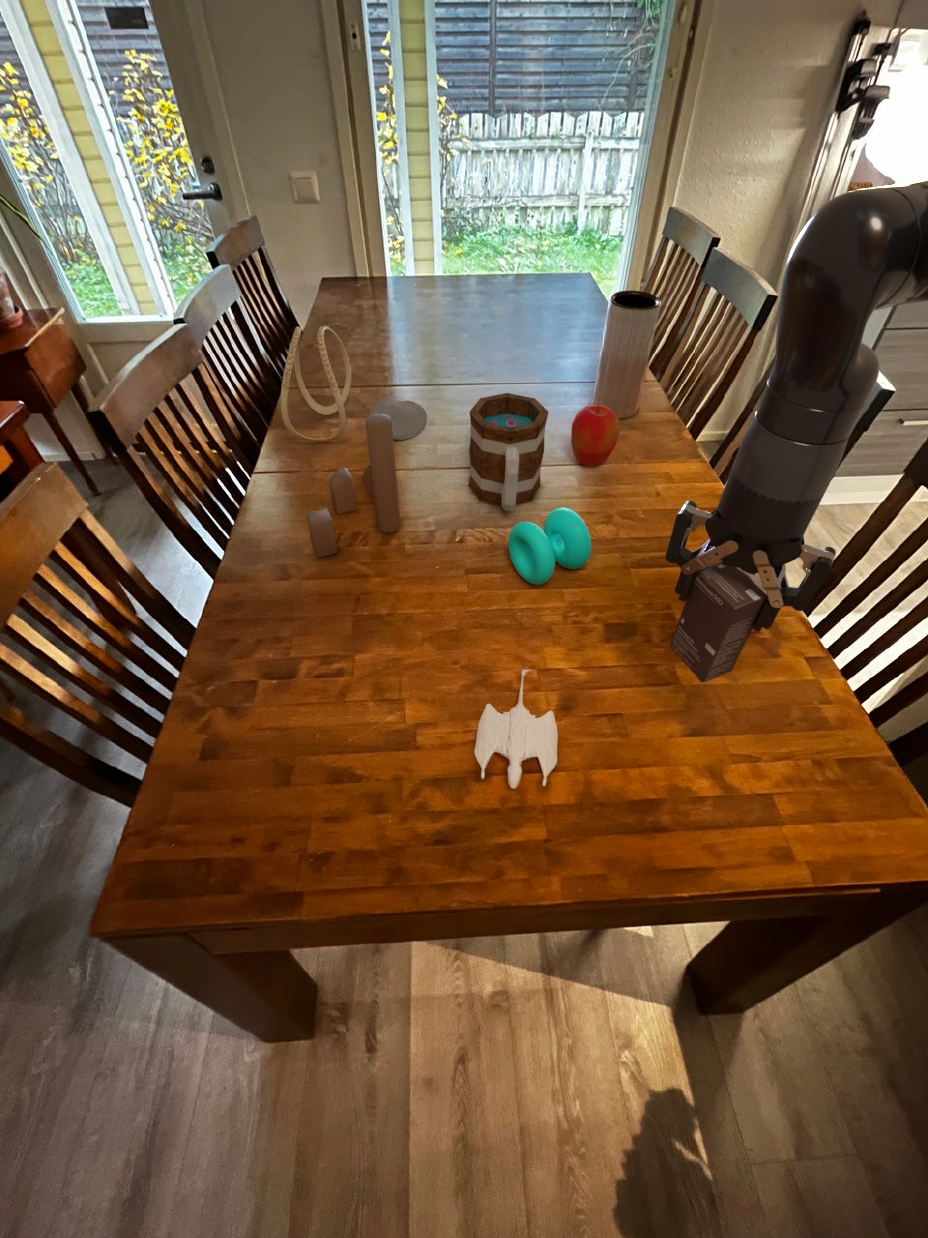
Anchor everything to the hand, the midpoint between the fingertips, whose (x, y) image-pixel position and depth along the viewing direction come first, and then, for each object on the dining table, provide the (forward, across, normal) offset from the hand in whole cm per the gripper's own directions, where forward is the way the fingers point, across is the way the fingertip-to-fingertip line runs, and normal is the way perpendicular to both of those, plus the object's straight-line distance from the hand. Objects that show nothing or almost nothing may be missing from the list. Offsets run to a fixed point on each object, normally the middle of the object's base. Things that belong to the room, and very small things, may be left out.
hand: (720, 610), depth 64 cm
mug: (+22, -43, +34) cm, 59 cm away
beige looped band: (+22, -87, +34) cm, 96 cm away
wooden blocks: (+22, -63, +14) cm, 69 cm away
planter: (+22, -39, +75) cm, 88 cm away
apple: (+22, -35, +52) cm, 67 cm away
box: (+8, 0, 0) cm, 8 cm away
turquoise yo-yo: (+22, -27, +19) cm, 40 cm away
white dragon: (+22, -16, -11) cm, 29 cm away
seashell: (+22, -74, +42) cm, 88 cm away
